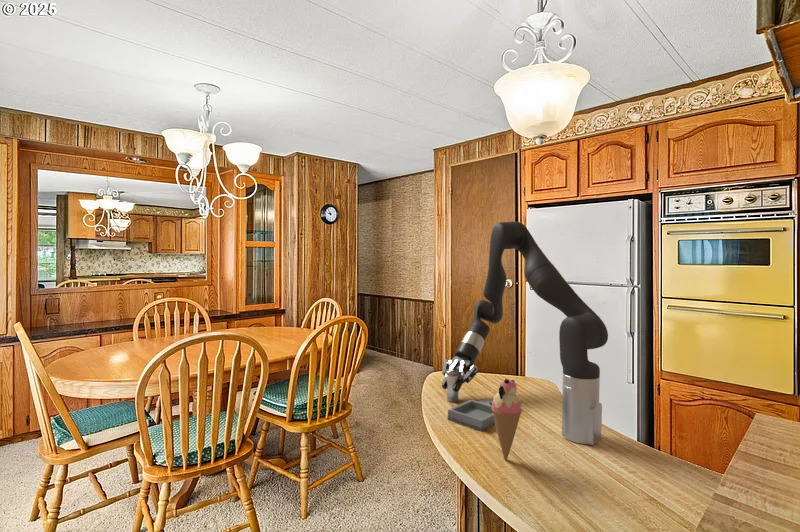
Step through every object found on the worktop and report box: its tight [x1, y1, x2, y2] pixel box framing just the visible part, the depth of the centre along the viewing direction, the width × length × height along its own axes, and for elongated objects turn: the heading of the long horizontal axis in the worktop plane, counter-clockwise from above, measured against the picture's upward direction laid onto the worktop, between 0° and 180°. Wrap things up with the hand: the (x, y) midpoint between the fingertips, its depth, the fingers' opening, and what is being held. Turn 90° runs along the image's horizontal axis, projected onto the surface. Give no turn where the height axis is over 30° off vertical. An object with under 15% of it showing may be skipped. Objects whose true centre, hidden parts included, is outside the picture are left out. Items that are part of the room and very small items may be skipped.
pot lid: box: [478, 398, 493, 406], centre depth 135 cm, size 10×10×6 cm
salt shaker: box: [446, 369, 460, 403], centre depth 143 cm, size 5×5×10 cm
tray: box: [447, 399, 495, 432], centre depth 127 cm, size 12×12×3 cm
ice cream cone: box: [491, 378, 523, 461], centre depth 102 cm, size 8×7×20 cm
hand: (449, 389), depth 141 cm, fingers closed on salt shaker, 4 cm apart
